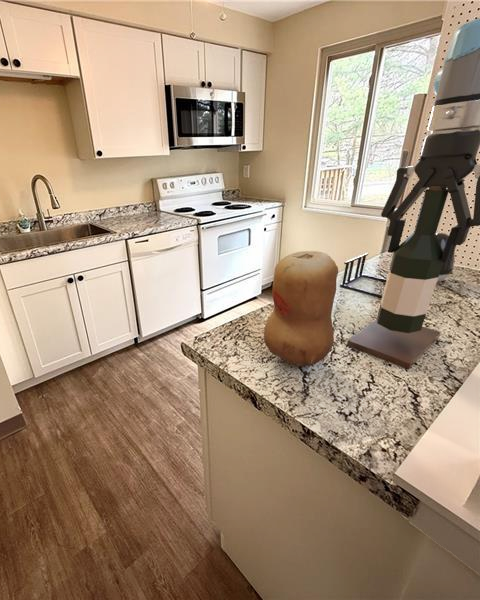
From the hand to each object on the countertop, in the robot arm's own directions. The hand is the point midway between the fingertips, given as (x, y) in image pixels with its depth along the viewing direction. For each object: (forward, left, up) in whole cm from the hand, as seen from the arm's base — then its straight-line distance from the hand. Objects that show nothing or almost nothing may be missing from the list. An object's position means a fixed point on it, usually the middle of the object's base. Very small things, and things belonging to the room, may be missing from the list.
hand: (417, 255), depth 64 cm
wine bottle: (0, 0, -17) cm, 17 cm away
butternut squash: (+24, +6, -21) cm, 33 cm away
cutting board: (0, 0, -21) cm, 21 cm away
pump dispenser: (-30, -36, -21) cm, 51 cm away
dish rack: (-12, -32, -21) cm, 40 cm away
